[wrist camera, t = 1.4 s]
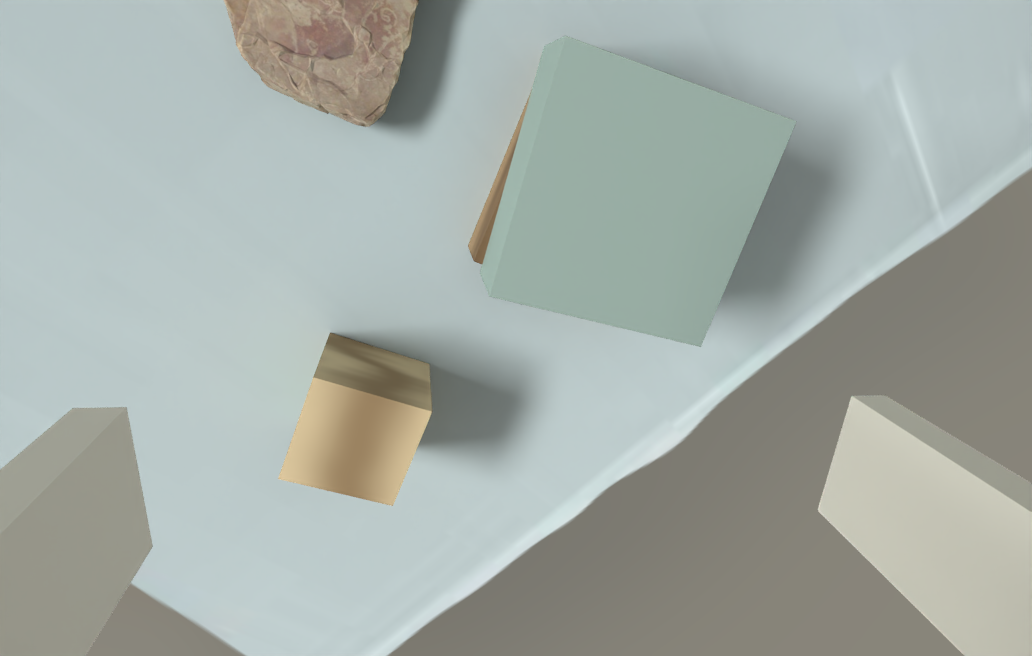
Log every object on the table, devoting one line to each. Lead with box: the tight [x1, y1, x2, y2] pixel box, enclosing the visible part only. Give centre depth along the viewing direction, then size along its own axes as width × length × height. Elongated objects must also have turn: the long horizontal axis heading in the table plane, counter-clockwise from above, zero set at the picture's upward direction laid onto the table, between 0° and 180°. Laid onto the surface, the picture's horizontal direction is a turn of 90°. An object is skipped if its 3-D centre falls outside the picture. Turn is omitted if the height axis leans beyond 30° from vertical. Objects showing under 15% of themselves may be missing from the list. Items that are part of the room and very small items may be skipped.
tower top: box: [480, 36, 797, 347], centre depth 27 cm, size 11×11×4 cm
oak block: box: [278, 333, 432, 506], centre depth 32 cm, size 6×6×6 cm
